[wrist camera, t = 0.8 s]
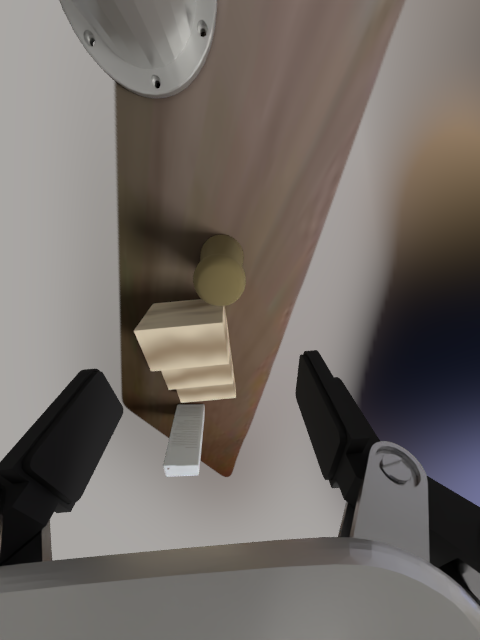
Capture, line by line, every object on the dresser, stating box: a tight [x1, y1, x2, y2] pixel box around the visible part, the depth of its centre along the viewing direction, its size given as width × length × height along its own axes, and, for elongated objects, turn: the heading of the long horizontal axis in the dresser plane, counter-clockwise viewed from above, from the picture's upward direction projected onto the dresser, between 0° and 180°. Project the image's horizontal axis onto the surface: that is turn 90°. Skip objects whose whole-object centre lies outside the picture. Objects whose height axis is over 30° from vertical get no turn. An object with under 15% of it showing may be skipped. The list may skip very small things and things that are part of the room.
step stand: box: [134, 299, 236, 403], centre depth 33 cm, size 21×11×8 cm, turn 4°
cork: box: [193, 234, 246, 306], centre depth 23 cm, size 6×6×11 cm
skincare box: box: [163, 404, 204, 477], centre depth 40 cm, size 6×4×12 cm
